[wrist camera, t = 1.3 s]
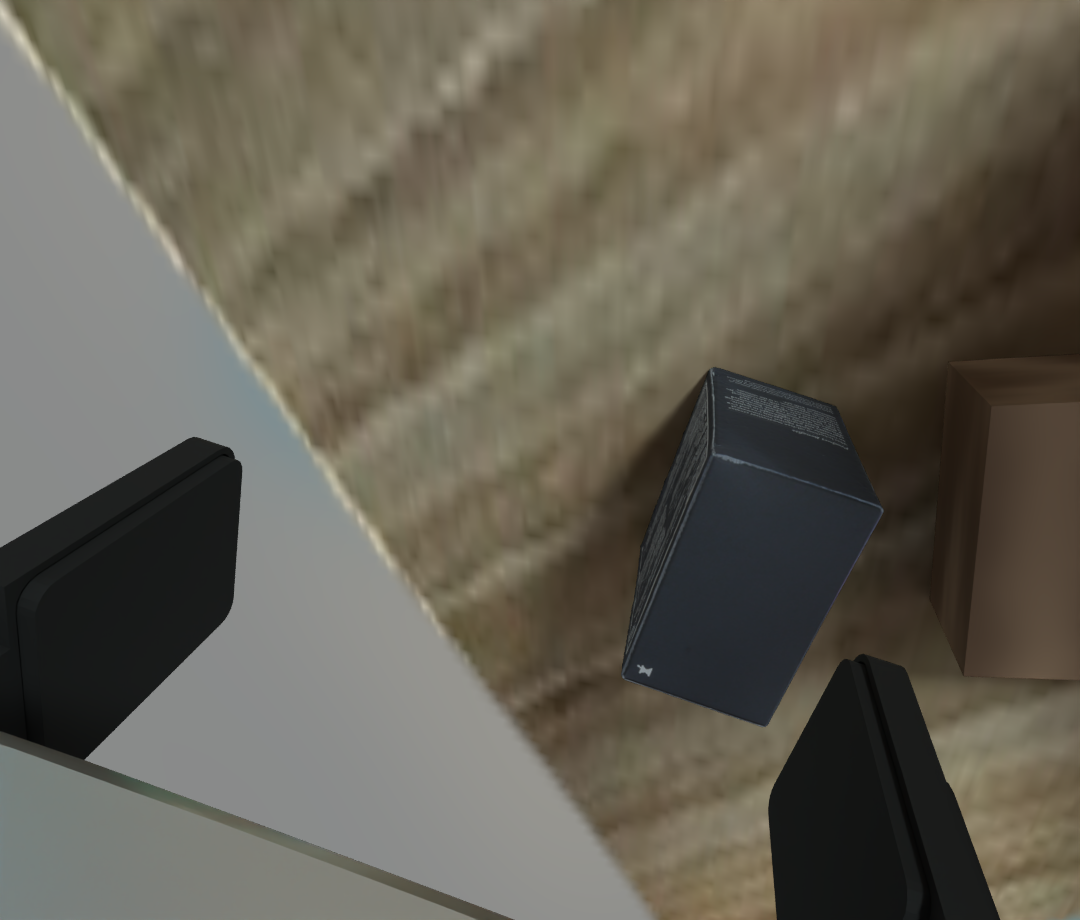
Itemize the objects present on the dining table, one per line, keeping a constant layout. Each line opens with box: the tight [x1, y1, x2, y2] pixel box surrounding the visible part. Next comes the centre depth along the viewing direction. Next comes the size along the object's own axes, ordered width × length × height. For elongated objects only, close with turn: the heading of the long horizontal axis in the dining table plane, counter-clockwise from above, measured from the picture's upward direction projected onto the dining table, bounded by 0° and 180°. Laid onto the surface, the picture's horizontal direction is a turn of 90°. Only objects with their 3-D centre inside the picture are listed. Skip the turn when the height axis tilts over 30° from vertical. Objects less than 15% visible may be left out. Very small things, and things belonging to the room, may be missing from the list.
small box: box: [621, 367, 883, 727], centre depth 32 cm, size 11×6×10 cm, turn 164°
